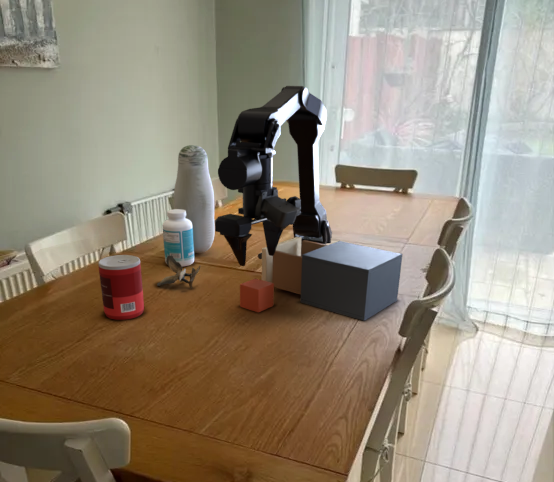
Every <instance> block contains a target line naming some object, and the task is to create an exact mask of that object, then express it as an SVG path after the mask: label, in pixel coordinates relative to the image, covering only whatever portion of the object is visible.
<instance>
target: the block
mask: <svg viewBox="0 0 554 482" xmlns="http://www.w3.org/2000/svg"><path fill="white" fill-rule="evenodd" d="M274 291H275V287H274V283H270V282H267V281H263V280H262V279H258V278H255V277H254V278H253V279H250V280H248V281H244V282H241V283H239V307H240V308H243V309H246V310H249V311H251V312H252V311H253V312H255V313H261V312H263V311H265V310H267V309H269V308H272V307H273V306H274V301H275V300H274V298H275V297H274V295H275V293H274Z"/></svg>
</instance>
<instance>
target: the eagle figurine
mask: <svg viewBox="0 0 554 482" xmlns="http://www.w3.org/2000/svg"><path fill="white" fill-rule="evenodd" d="M166 259H167V260H166V262H167V264H166V265H167V267H169V268H170V270H171V272H173V273H175V274H174V275H169V276H165V277H164V278H162V279H161V281H159V282H157V283H156V286H157V287H160V286H164V285H167V284H168V285H173V284H175V283H176V282H177V281H179V282H180V283H182V284H184V283H185V284H188V286H189V288H190V289H191V290H192V289H193V283H194V280H195V278H196V275H197V274H198V273H199V271H200V269H201V265H199V266H198V267H197V268H194V267H192V268H191V273H187V272H186V271H187V269H186V268H183V267H184V266H183V267H182V266H181V264H180V263H179V262H176V261H175V259H174V258H173V256H172V255H170V256H168V257H167V258H166ZM166 262H165V263H166ZM185 277H189V280H188V279H187V278H185Z"/></svg>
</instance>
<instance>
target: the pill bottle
mask: <svg viewBox="0 0 554 482" xmlns="http://www.w3.org/2000/svg"><path fill="white" fill-rule="evenodd" d="M166 216H167V218H166V219H165V220H164V221H163V222H162V227H161V228H162V238H163V239H162V240H163V251H164V262H165V264H166V265H168V264H167V262H166V260H167V259H166V258H167V257H168V256H170V255H172V256H173V258H174V259H175V261H176V262H179V263H180V264H181V266H182V267H189V266H191V265H193V264H194V262H195V253H194V245H193V228H192V222H191V221H190V220H188V219H186V218H185V217H186V210H182V209H175V208H174V209H169V210H167V211H166Z"/></svg>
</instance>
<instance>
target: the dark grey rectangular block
mask: <svg viewBox="0 0 554 482" xmlns="http://www.w3.org/2000/svg"><path fill="white" fill-rule="evenodd" d="M326 245H327V246H324V247H322V248H319V249H316V250H314V251H311V252H308V253H306V254H303V255H302V274H301V294H300V300H299V301H300V303H301V304H305V305H308V306H311V307H315V308H318V309H321V310H325V311H329V312H333V313H336V314H340V315H342V316H346V317H350V318H353V319H356V320H360V321H363V322H365V321H367V320H368V319H369V318H371V317H373V316H375V315H376V314H378V313H379V312H381V311H383V310H384V309H387V307H390V306H391V305H392V304H394V303H396V302H397V301H398V298H399V297H398V295H399V287H400V280H401V279H400V278H401V271H402V262H403V253H402V252H401V253H400V252H396V251H391V250H386V249H381V248H376V247H372V246H367V245H363V244H357V243H352V242H349V241H348V242H347V241H342V240H338V241H336V242H335V241H334V242H333V243H332V242H331V243H329V244H326Z"/></svg>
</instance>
